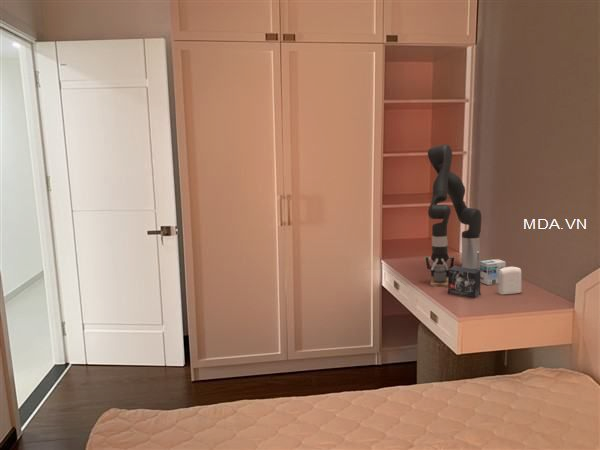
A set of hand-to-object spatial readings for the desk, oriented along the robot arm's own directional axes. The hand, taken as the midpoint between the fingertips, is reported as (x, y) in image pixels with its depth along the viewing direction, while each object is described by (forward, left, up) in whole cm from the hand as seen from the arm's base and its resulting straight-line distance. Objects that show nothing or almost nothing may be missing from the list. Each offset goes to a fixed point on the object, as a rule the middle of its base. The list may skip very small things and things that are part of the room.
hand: (439, 277), depth 241 cm
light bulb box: (-25, -5, -4) cm, 26 cm away
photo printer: (-31, +12, -4) cm, 33 cm away
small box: (-11, +16, -4) cm, 20 cm away
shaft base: (-1, 0, -3) cm, 4 cm away
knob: (0, 0, -1) cm, 1 cm away
